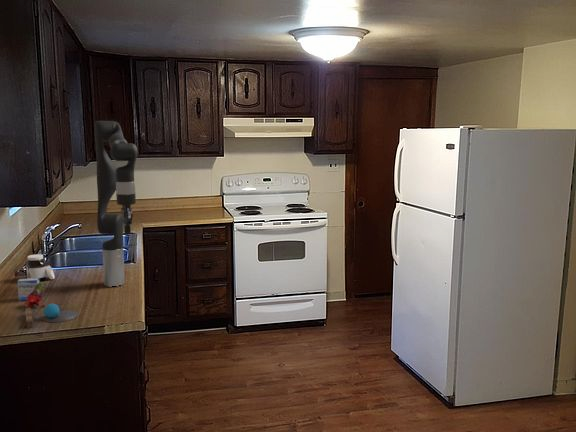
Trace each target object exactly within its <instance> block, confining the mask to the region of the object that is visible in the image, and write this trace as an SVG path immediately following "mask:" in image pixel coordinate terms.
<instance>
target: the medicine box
mask: <svg viewBox="0 0 576 432" xmlns="http://www.w3.org/2000/svg"><path fill="white" fill-rule="evenodd" d="M38 283H40V281H39V278H28V277H27V278H19V279H18V280H17V294H18V295H17V297H18V301H19V302H24V301H26V302H27V301H28V295H29V294H30V293H31V292H33V289H34V288H35V286H36V285H37V284H38Z"/></svg>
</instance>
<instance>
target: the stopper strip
mask: <svg viewBox="0 0 576 432" xmlns="http://www.w3.org/2000/svg"><path fill="white" fill-rule="evenodd" d="M25 323H26V329H31V328H32V329H33V328H34V325H33V324H34V323H33V315H32V307H31V308H30V307H25Z"/></svg>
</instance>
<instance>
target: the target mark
mask: <svg viewBox="0 0 576 432" xmlns="http://www.w3.org/2000/svg"><path fill="white" fill-rule="evenodd" d="M75 317H76V318H77V317H79V312H77V310H69V309H67V310H66V309H65V310H60V312H59V314H58V316H56V317H55V318H48V317H46V316H45V314H44V315H43V316H42V318H41V319H42V321H43V322H46V323H62V322H63V321H64V322H68V321H71V319H72V320H74V319H76V318H75ZM67 320H68V321H67ZM64 322H63V323H64Z"/></svg>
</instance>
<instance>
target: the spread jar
mask: <svg viewBox="0 0 576 432" xmlns="http://www.w3.org/2000/svg"><path fill="white" fill-rule="evenodd" d="M25 268H26V276H27V279H28V278H39V282H43V281H44V280H45V279H46V278H47V276H48V278H49V279H50V280H54V279H55V278H56V277H55V273H54V271H53V268H52V267H51V266H50V265H46V261H45V259H44V254H40V253H39V254H30V255H28V256H27V262H26V267H25Z"/></svg>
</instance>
